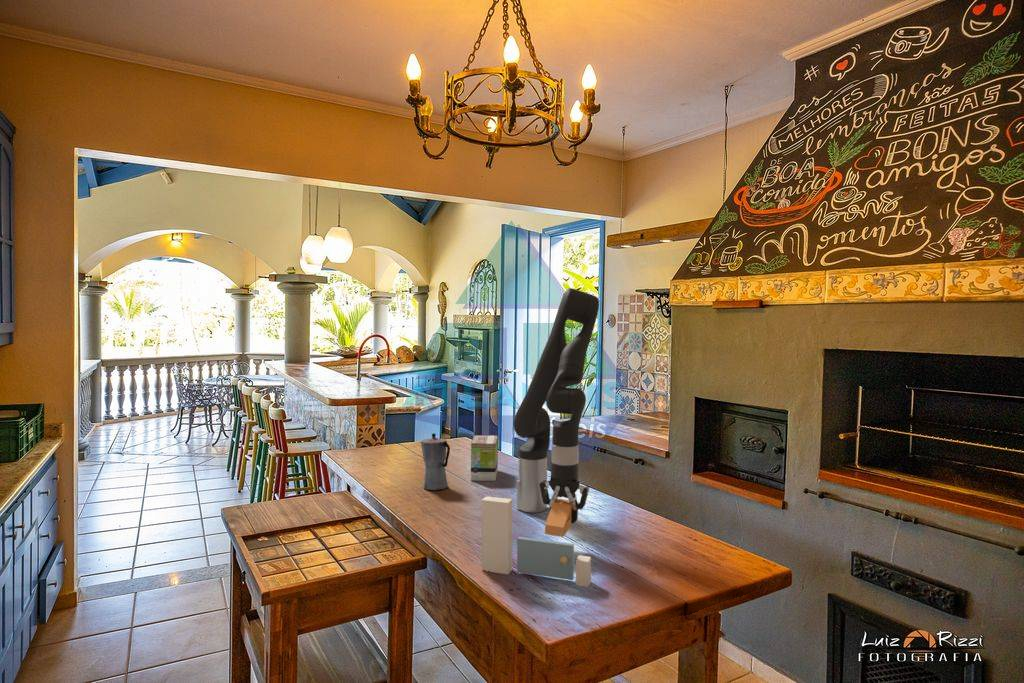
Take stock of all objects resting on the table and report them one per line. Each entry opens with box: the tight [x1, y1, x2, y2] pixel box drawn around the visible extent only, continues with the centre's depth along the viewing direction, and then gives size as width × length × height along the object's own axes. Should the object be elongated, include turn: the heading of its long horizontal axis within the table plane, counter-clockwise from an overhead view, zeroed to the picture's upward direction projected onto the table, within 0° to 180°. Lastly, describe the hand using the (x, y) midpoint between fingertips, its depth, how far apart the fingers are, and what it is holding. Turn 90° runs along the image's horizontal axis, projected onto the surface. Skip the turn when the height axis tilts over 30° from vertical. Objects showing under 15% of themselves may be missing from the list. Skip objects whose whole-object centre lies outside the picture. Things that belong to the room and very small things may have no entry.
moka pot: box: [420, 432, 451, 491], centre depth 212 cm, size 10×15×20 cm, turn 51°
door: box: [516, 536, 575, 581], centre depth 140 cm, size 14×3×8 cm, turn 71°
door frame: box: [481, 496, 592, 588], centre depth 141 cm, size 27×3×18 cm, turn 71°
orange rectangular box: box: [544, 497, 574, 538], centre depth 155 cm, size 11×5×6 cm, turn 159°
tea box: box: [470, 434, 499, 482], centre depth 227 cm, size 15×10×15 cm
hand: (563, 520), depth 159 cm, fingers closed on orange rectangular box, 5 cm apart
